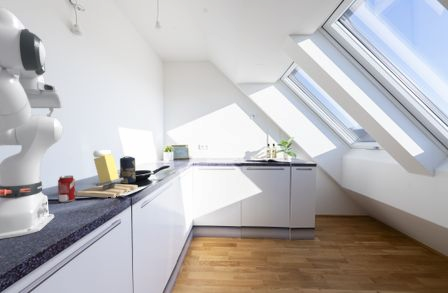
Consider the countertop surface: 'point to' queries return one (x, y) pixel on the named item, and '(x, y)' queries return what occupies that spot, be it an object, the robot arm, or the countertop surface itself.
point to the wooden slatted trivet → (107, 190)
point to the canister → (127, 169)
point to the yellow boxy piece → (105, 167)
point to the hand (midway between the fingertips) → (36, 118)
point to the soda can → (66, 189)
